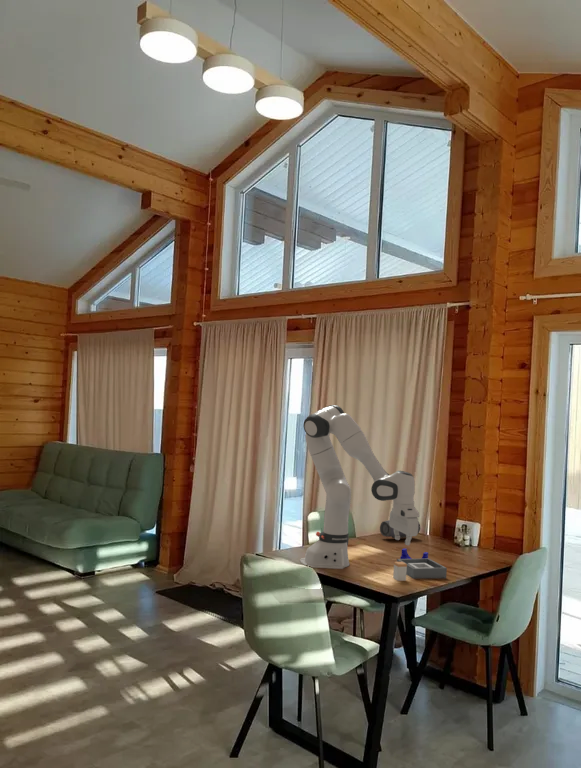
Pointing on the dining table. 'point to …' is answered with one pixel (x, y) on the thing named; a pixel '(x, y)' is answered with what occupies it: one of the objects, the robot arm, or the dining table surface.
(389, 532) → the bluetooth speaker
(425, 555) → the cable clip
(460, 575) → the dining table surface
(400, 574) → the connector
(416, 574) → the storage box
